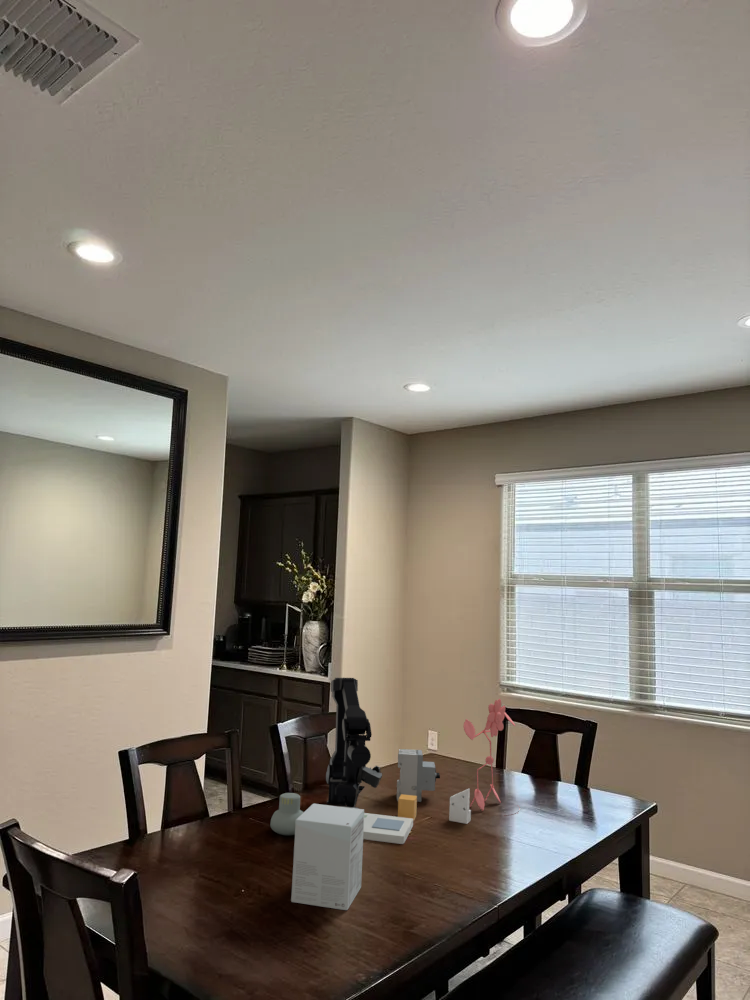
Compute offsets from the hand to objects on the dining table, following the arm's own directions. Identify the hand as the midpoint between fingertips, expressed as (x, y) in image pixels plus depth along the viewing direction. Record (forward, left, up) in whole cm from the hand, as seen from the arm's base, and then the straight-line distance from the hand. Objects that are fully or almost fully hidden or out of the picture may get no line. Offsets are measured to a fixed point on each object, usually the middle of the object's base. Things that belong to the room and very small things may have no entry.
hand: (351, 813), depth 203 cm
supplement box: (+6, -46, -4) cm, 47 cm away
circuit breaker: (+14, +35, -4) cm, 38 cm away
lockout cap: (+14, +14, -4) cm, 20 cm away
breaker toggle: (0, -3, -1) cm, 3 cm away
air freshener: (-16, -11, -4) cm, 20 cm away
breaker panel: (+7, -1, -4) cm, 8 cm away
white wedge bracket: (+30, +17, -4) cm, 35 cm away
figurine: (+40, +33, -4) cm, 52 cm away
